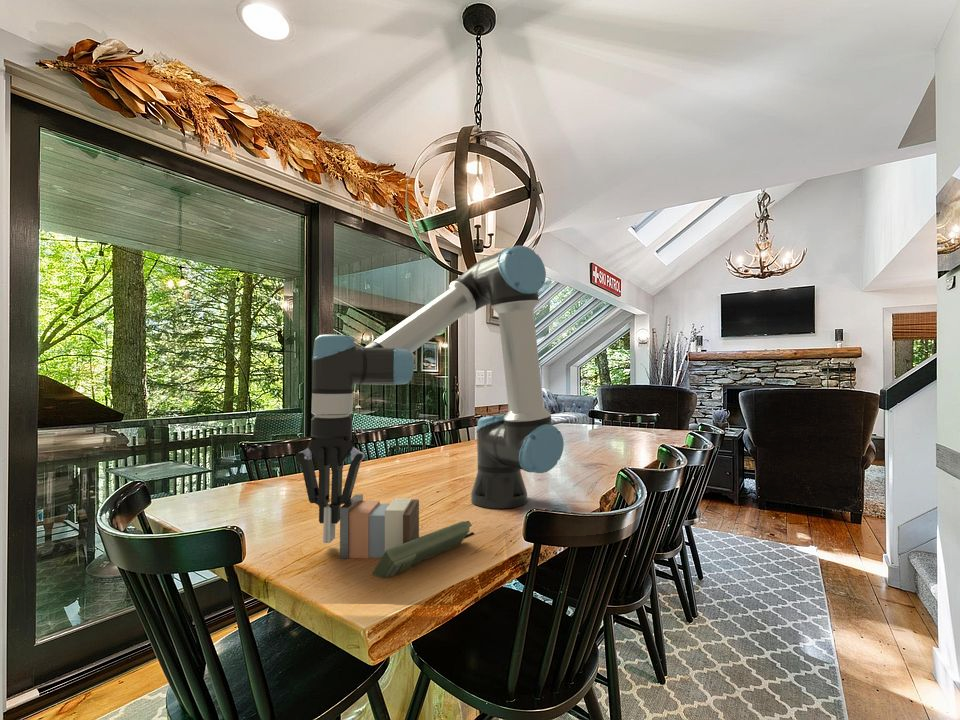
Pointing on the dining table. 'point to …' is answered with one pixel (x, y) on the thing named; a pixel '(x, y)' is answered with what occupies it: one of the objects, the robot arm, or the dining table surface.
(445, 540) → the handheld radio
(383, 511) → the slate book
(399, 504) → the cream book
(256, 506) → the dining table surface
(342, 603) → the dining table surface
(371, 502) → the rust book
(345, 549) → the bookend
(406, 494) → the dining table surface
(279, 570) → the dining table surface
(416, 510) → the dark brown block piece
